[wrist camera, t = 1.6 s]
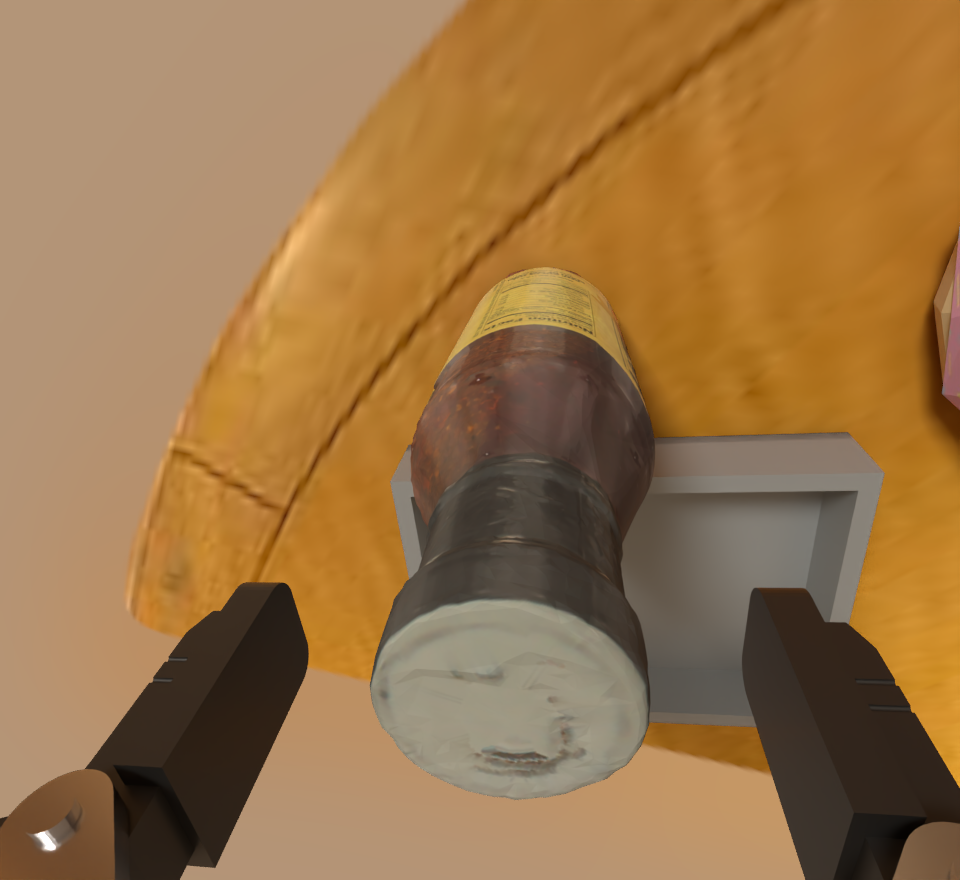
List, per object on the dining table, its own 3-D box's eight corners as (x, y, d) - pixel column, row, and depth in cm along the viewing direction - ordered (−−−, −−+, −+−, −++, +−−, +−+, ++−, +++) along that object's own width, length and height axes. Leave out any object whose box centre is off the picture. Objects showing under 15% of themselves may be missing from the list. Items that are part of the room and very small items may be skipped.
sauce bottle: (576, 417, 28) (588, 911, 10) (452, 364, 27) (246, 784, 10) (648, 288, 25) (839, 681, 7) (509, 225, 24) (355, 482, 7)
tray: (847, 432, 26) (884, 472, 23) (799, 674, 33) (823, 730, 30) (408, 444, 30) (390, 481, 27) (446, 662, 36) (435, 712, 33)
